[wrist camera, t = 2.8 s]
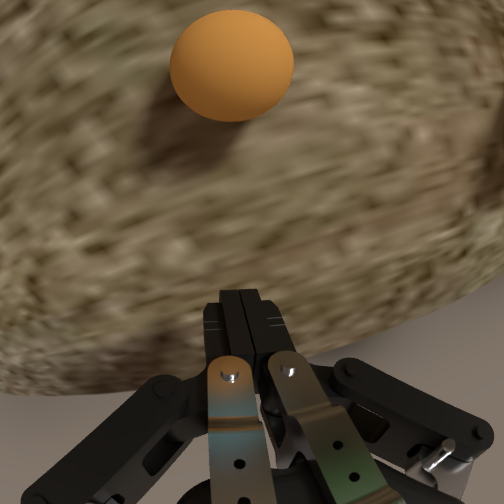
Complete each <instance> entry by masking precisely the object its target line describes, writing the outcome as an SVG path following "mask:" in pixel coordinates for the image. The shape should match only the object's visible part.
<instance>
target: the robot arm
mask: <svg viewBox="0 0 504 504" xmlns="http://www.w3.org/2000/svg"><path fill="white" fill-rule="evenodd" d="M203 324H204V344H205V354H206V364H207V365H206V368H205V369H204V370H203V371H202V372H201V373H200V374H199V375H197V376H195V377H193V378H190V379H187V380H184V381H182V380H180V379H179V378H177V377H175V376H172V375H158V376H155V377H153V378H151V379H149V380H148V381H147V382H146V383H145V384H144V385H143V386H142V387H140V388H139V389H138V390H137V391H136V392H135V393H134V394H133V395H132V396H131V397H130V398H129V399H128V400H127V401H125V402H124V403H123V404H122V405H121V406H120V407H119V408H118V409H117V410H116V411H114V412H113V413H112V414H111V415H110V416H109V417H108V418H107V419H106V420H105V421H103V422H102V423H101V424H100V425H99V426H98V427H97V428H96V429H95V430H93V432H91V433H90V434H89V435H88V436H87V437H86V438H85V439H84V440H82V441H81V442H80V443H79V444H78V445H77V446H76V447H75V448H73V449H72V450H71V451H70V452H69V453H68V454H67V455H65V456H64V457H63V458H62V459H61V460H60V461H59V462H57V463H56V464H55V465H54V466H53V467H52V468H51V469H49V471H47V472H46V473H45V474H44V475H42V476H41V477H40V478H39V479H38V480H37V481H36V482H34V483H33V484H32V485H31V486H30V487H28V488H27V489H26V490H25V491H24V493H23V494H22V497H21V504H136V503H137V502H138V501H139V500H140V499H141V498H142V497H143V496H144V495H145V494H146V493H147V492H148V491H149V490H150V488H151V487H152V486H153V485H154V484H155V483H156V482H157V481H158V480H159V479H160V477H161V476H162V475H163V474H164V473H165V472H166V471H167V470H168V468H169V467H170V466H171V465H172V464H173V463H174V462H175V460H176V459H177V458H178V457H179V456H180V455H181V453H182V452H183V451H184V450H185V449H186V448H187V446H188V445H189V444H190V443H191V441H192V440H193V438H195V437H198V436H201V435H204V434H207V433H208V441H209V466H210V479H208V480H206V481H203V482H201V483H199V484H198V485H196V486H194V487H193V488H191V489H190V490H189V491H187V492H186V493H185V494H184V495H183V496H182V497H181V499H180V500H179V501H178V502H177V504H464V502H462V501H461V498H462V496H463V493H464V490H465V487H466V484H467V481H468V478H469V475H470V472H471V469H472V465H473V462H474V460H475V459H476V458H478V457H479V456H480V455H481V454H482V453H483V452H485V451H486V450H487V449H488V448H490V446H491V445H492V444H493V441H494V432H493V429H492V427H491V426H490V424H489V423H488V422H486V421H485V420H483V419H481V418H479V417H476V416H474V415H472V414H469V413H467V412H465V411H463V410H461V409H459V408H456V407H454V406H452V405H450V404H448V403H445V402H443V401H441V400H439V399H437V398H435V397H433V396H431V395H429V394H426V393H424V392H423V391H420V390H418V389H416V388H414V387H412V386H410V385H408V384H406V383H404V382H402V381H400V380H398V379H396V378H394V377H392V376H390V375H388V374H386V373H384V372H382V371H380V370H378V369H376V368H374V367H373V366H371V365H369V364H367V363H365V362H363V361H361V360H359V359H356V358H344V359H341V360H339V361H338V362H336V364H335V365H334V367H328V366H318V365H313V364H310V363H308V361H307V359H306V358H305V357H304V356H302V355H301V354H299V353H297V352H296V350H295V347H294V345H293V342H292V340H291V338H290V335H289V333H288V330H287V328H286V325H285V323H284V321H283V318H282V316H281V313H280V311H279V308H278V307H277V306H276V305H275V304H274V303H273V302H272V301H270V300H262V301H261V298H260V296H259V293H258V290H257V289H239V290H220V292H219V303H207V305H206V307H205V309H204V311H203ZM255 394H259V395H260V399H261V405H260V412H261V415H262V417H263V420H264V423H265V426H266V429H267V432H268V434H269V437H270V440H271V443H272V445H273V448H274V451H275V457H276V466H277V469H272V468H271V467H270V461H269V456H268V450H267V444H266V438H265V432H264V427H263V423H262V422H261V421H259V417H258V411H257V404H256V398H255ZM357 404H358V405H357ZM359 405H360V406H359ZM361 406H362V407H361ZM363 407H364V408H363ZM365 408H366V409H365ZM367 409H368V410H370V411H371V412H370V411H368V410H367ZM372 412H373V413H372ZM374 413H375V414H374ZM376 414H377V415H376ZM378 415H379V416H378ZM380 416H381V417H380ZM382 417H383V418H382ZM370 453H372V454H374V455H376V456H378V457H381V458H382V459H384V460H386V461H388V462H390V463H392V464H394V465H397V466H399V467H401V468H403V469H405V474H403V473H401V472H399V471H397V470H395V469H393V468H391V467H390V466H388V465H386V464H384V463H382V462H380V461H378V460H376V459H374V458H373V457H372V455H371V454H370Z"/></svg>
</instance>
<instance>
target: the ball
mask: <svg viewBox="0 0 504 504" xmlns="http://www.w3.org/2000/svg"><path fill="white" fill-rule="evenodd" d="M293 70H294V60H293V53H292V49H291V47H290V44H289V42H288V40H287V38H286V37H285V35H284V34H283V33H282V31H281V30H280V29H279V28H278V27H277V26H276V25H275V24H273V23H272V22H271V21H269V20H268V19H266V18H264V17H262V16H260V15H258V14H255V13H252V12H248V11H243V10H224V11H218V12H214V13H211V14H208V15H206V16H204V17H202V18H200V19H198V20H196V21H195V22H194V23H192V24H191V25H190V26H189V27H188V28H187V29H186V30H185V31H184V32H183V33H182V34H181V35H180V37H179V38H178V40H177V42H176V43H175V45H174V48H173V50H172V53H171V58H170V76H171V80H172V84H173V86H174V89H175V91H176V93H177V94H178V96H179V97H180V99H181V100H182V101H183V102H184V103H185V104H186V105H187V106H188V107H189V108H190V109H192V110H193V111H194V112H196V113H198V114H200V115H201V116H204V117H206V118H209V119H212V120H216V121H223V122H237V121H244V120H249V119H252V118H255V117H257V116H259V115H261V114H263V113H265V112H267V111H268V110H270V109H271V108H272V107H273V106H275V105H276V104H277V103H278V102H279V101H280V100H281V98H282V97H283V96H284V94H285V93H286V91H287V89H288V88H289V86H290V83H291V80H292V76H293Z"/></svg>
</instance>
